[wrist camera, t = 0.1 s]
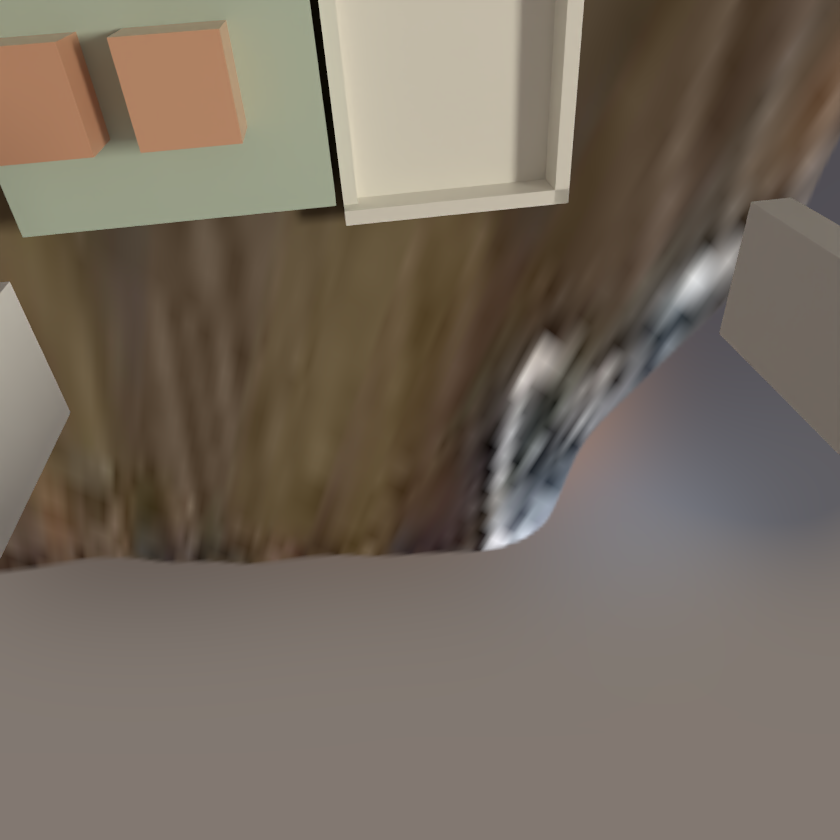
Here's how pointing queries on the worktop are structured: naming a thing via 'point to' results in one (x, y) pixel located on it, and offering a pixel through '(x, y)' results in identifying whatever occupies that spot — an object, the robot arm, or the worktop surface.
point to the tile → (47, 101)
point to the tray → (451, 104)
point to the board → (184, 168)
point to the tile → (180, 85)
